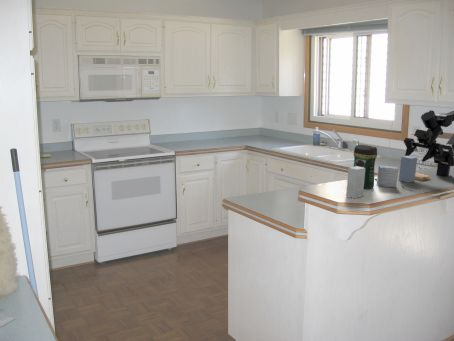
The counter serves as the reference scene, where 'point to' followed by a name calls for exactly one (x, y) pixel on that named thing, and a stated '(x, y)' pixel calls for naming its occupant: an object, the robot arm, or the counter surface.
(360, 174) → the skincare box
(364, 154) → the coffee jar
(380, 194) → the counter surface
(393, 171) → the medicine box
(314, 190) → the counter surface
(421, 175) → the top slab
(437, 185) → the counter surface
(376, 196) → the counter surface
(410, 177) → the slate block
